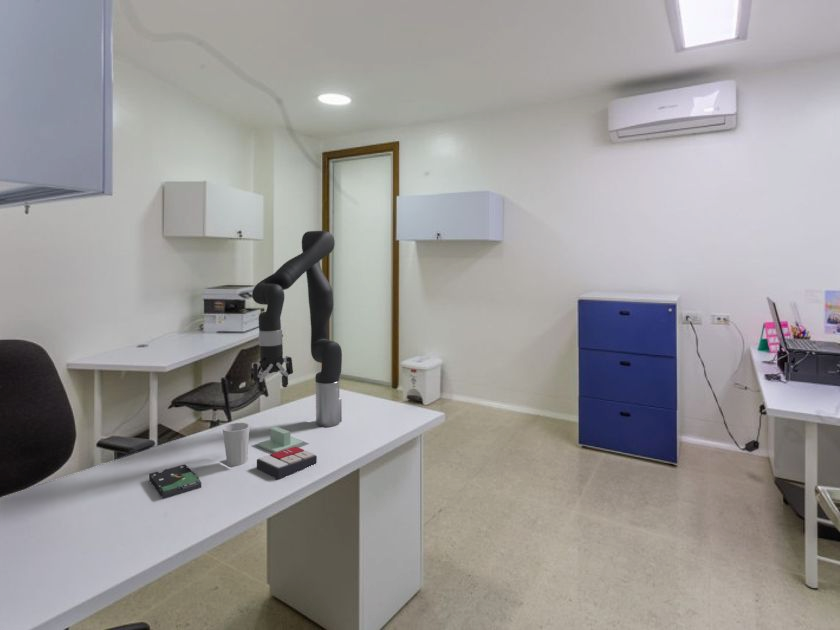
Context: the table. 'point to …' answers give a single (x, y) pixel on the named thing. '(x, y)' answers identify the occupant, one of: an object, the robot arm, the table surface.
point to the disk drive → (174, 481)
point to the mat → (273, 452)
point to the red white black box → (286, 462)
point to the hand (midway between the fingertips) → (273, 389)
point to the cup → (236, 443)
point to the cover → (279, 440)
